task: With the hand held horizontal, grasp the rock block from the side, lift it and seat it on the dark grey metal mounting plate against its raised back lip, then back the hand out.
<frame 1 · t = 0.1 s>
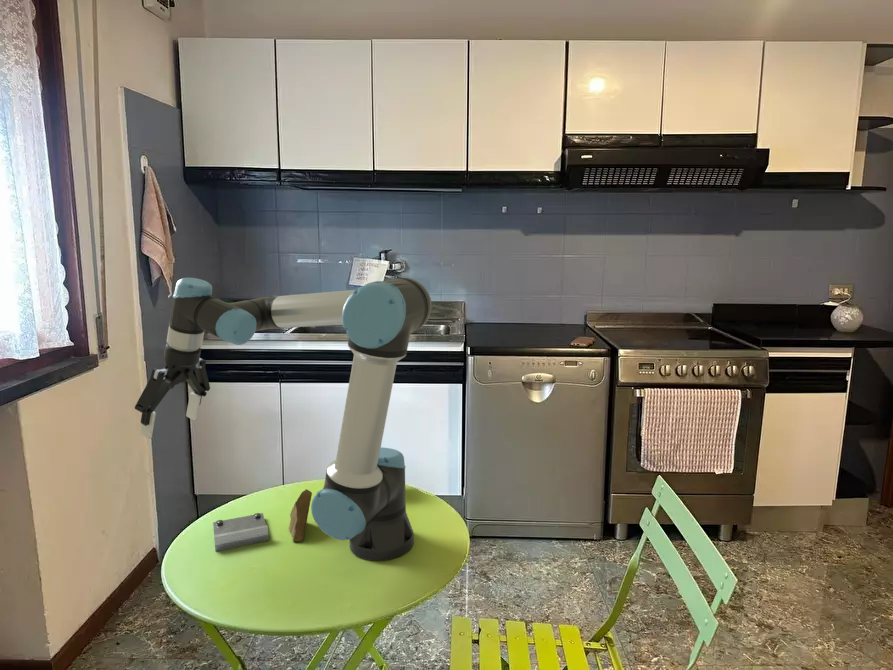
hand: (169, 426, 143), 28 cm above the table, tool tilted 20°, fingers open, 13 cm apart
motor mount: (240, 533, 148), on the table
rock: (297, 532, 148), on the table
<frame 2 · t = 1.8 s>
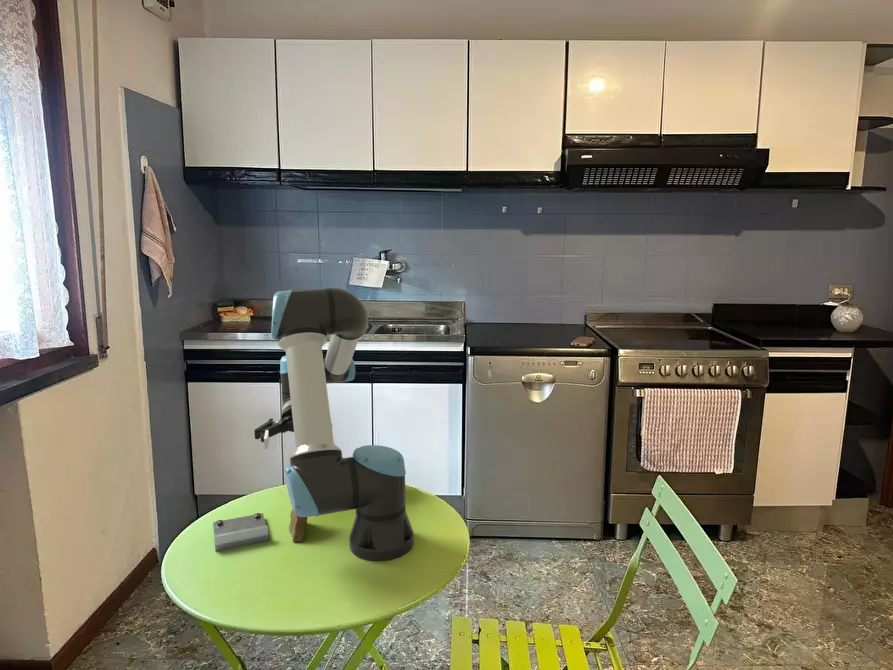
hand: (293, 441, 154), 20 cm above the table, tool horizontal, fingers open, 13 cm apart
nothing on the table moved.
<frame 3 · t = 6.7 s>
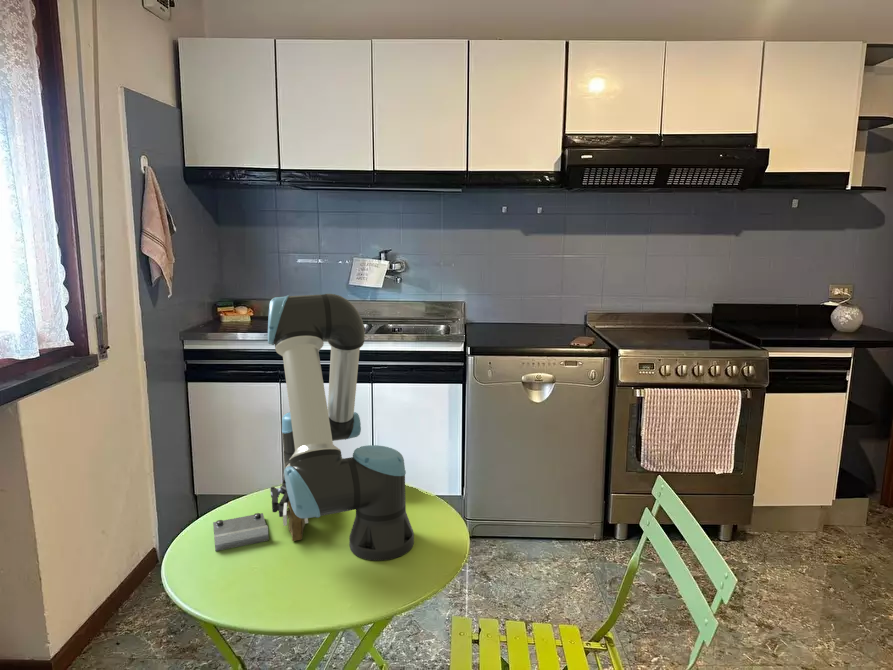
hand: (295, 519, 142), 6 cm above the table, tool horizontal, fingers closed on rock, 4 cm apart
rock: (297, 531, 148), on the table, touching gripper
everything else where it was.
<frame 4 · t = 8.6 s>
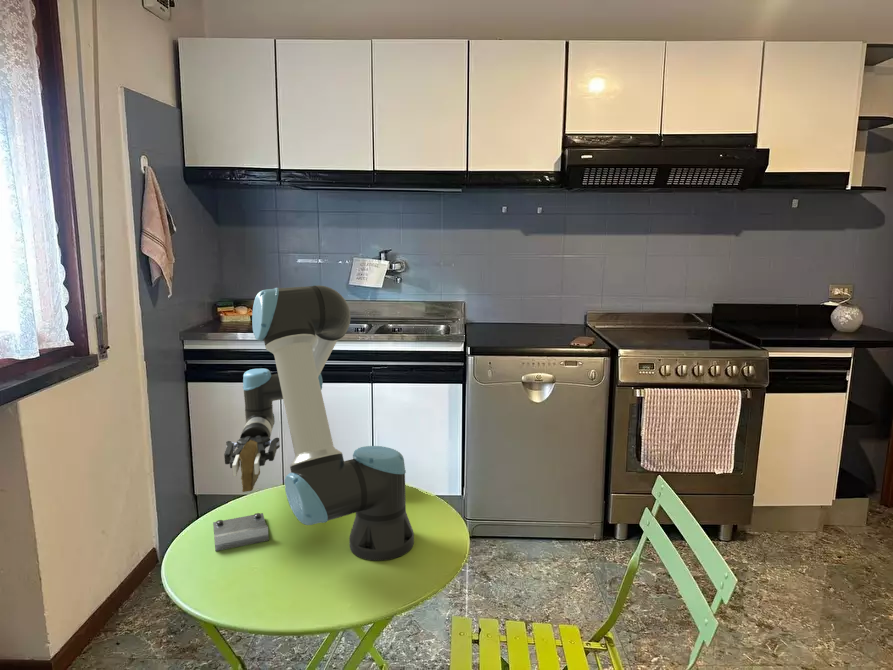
hand: (245, 469, 141), 18 cm above the table, tool horizontal, fingers closed on rock, 4 cm apart
rock: (249, 483, 147), point 12 cm above the table, touching gripper
everything else where it was.
when the fingers open (9 cm above the table, at t = 10.8 s): rock drops 2 cm, resting on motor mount.
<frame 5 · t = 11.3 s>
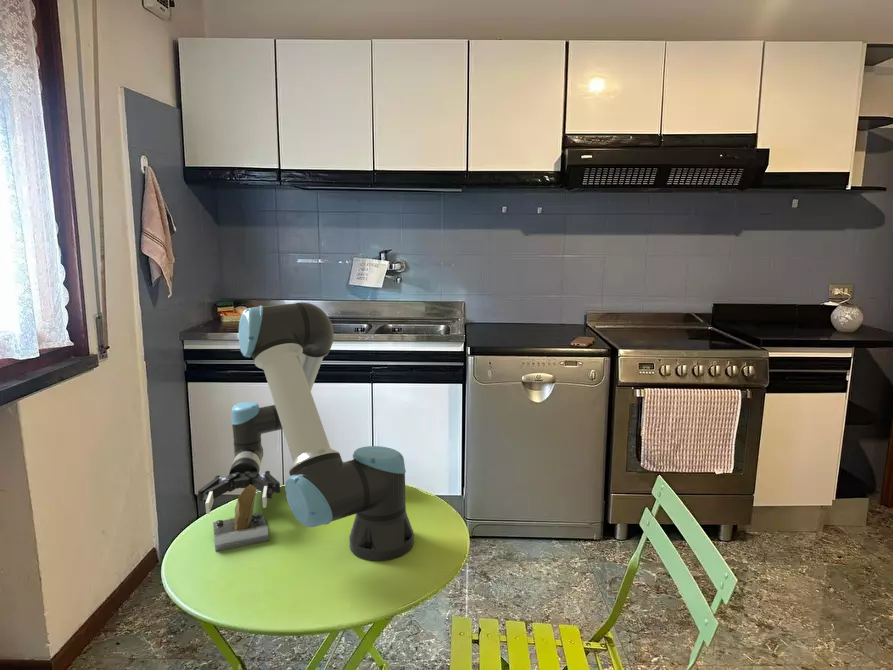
hand: (236, 505, 143), 9 cm above the table, tool horizontal, fingers open, 12 cm apart
rock: (241, 527, 148), point 1 cm above the table, touching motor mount
everything else where it was.
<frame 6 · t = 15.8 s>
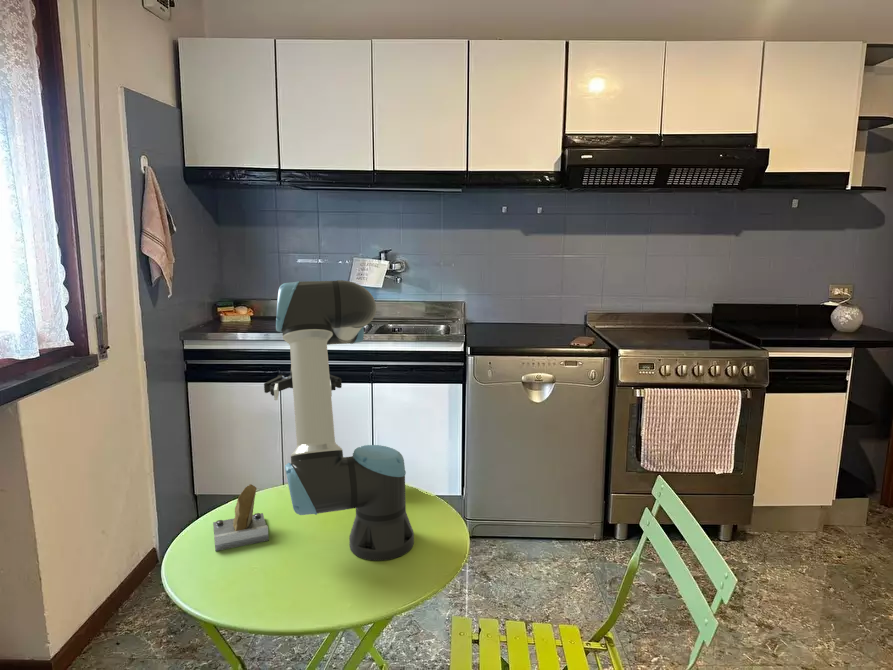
hand: (303, 393, 154), 32 cm above the table, tool horizontal, fingers open, 13 cm apart
nothing on the table moved.
at the end: rock inside the target area on the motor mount (0.5 cm from its centre), point 1.3 cm above the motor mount's base; rock tilted 0°; the gripper is holding nothing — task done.
